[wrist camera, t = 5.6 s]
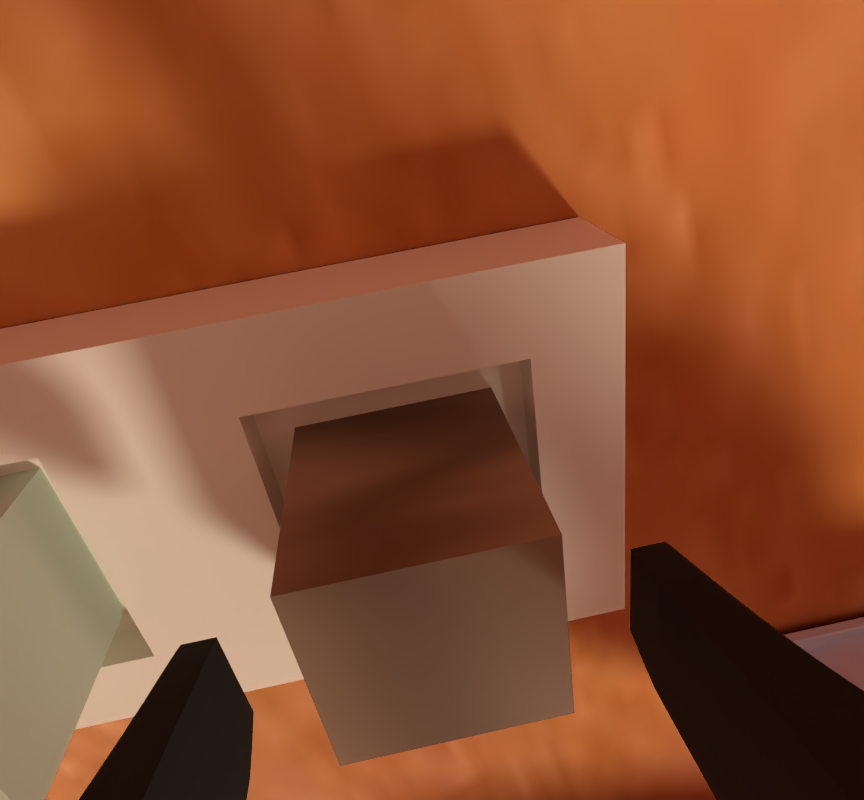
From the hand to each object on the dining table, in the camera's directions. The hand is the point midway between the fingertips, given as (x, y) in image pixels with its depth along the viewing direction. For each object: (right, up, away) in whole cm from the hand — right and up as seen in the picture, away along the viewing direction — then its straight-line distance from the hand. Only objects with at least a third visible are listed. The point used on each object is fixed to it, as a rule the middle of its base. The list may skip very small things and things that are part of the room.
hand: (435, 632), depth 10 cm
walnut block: (-1, +2, +4) cm, 5 cm away
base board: (-6, +2, +5) cm, 8 cm away
